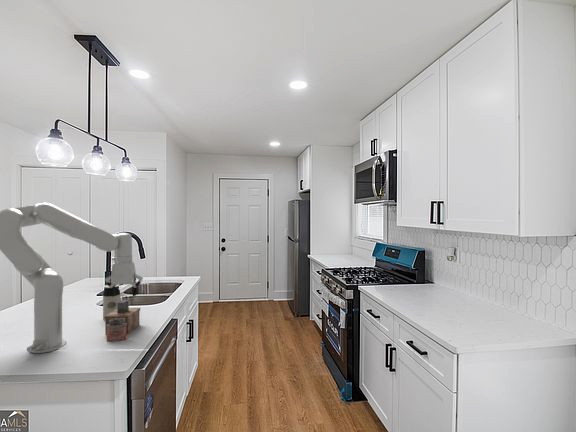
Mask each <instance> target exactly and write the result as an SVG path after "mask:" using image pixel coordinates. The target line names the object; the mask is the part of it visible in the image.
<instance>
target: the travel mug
mask: <svg viewBox="0 0 576 432" xmlns="http://www.w3.org/2000/svg"><path fill="white" fill-rule="evenodd" d="M120 285H121V284H120ZM120 285H115V287H116V295H115V296H113V297H112V294H111V288H110V287H109V286H108V285H107V284H106V285H103V289H104V290H103V292H102V320H103V321H105V319H104V316H106V315H108V314H109V313H111V312H113V311H114V310H116V309H117V303H118V302H120V301H121V290H120Z"/></svg>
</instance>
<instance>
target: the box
mask: <svg viewBox="0 0 576 432" xmlns="http://www.w3.org/2000/svg"><path fill="white" fill-rule="evenodd" d="M109 320H113V319H105V320H104V322H105V326H104V327H105V329H104V330H105V334H104V335H106V336H107V328H106V325H108V324H110V323H109ZM119 323H120V322H119ZM122 323H127V326H126V336H127V335H130V334H131V333H132V332H133V331H134V330H136V328H138V327H139V326H140V311H139V312H137V313H136V314H134V315H133V316H132V317H130V318H129V319H125V322H122ZM112 324H113V323H112Z"/></svg>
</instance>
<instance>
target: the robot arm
mask: <svg viewBox="0 0 576 432" xmlns="http://www.w3.org/2000/svg"><path fill="white" fill-rule="evenodd" d="M40 224H42V225H45V226H47V227H49V228H50V229H54V230H55V231H58V232H60V233H62V234H64V235H65V236H68V237H70V238H73V239H77V240H80V241H83V242H85V243H88V244H90V245H92V246H94V247H95V248H97V249H98V250H100V251H104V252H113V251H114V254H113V255H114V256H113V257H111V261H114V262H113V263H112V265H111V271H110V273H111V274H110V276H107V277H105V278H104V281H105V282H106V285H108V286H109V287H110V288H111V294H112V297H113V296H115V295H116V287H115V285H131V286H132V296H133V297H136V296H137V295H138V293H139V292H138V291H139V289H138V287H139V286H140V285H141V283H142V281H143V279H144V277H143V276H141V275H138V274H137V272H136V266H135V262H134V261H133V237H132V234H131V233H115V234H114V233H113V234H112V233H110V232H108V231H106V230H104V229H101V228H100V227H97V226H95V225H94V224H91V223H89V222H88V221H86V220H83V219H82V218H81V217H78V216H76V215H74V214H72V213H70V212H68V211H66V210H64V209H62V208H60V207H58V206H56V205H55V204H52V203H48V202H41V203H36V204H32V205H25V206H18V207H12V208H5V209H2V210H1V211H0V252H1V253H2V254H3V255H4V256H5V257H6V258H7V259H8V260H9V261H10V263H11V264H12V265H13V267H14V268H15V270H16V271H18V272H19V273H20V274H21V275H22V276H23V278H24V279H25V280H27V282H28V283H29V284H30V285H32V287H33V288H34V295H33V296H34V297H33V303H34V304H33V314H34V315H33V316H34V317H33V325H34V326H33V327H34V329H33V330H34V331H33V333H34V334H33V340H32V344H31V345H30V346H28V347H26V351H27V352H29V353H32V354H44V353H45V354H46V353H50V352H54V351H55V352H56V351H58V350H59V348H62V347H65V345H67V340H65V339H63V295H64V294H63V293H64V281H63V280H64V279H63V278H62V276H61V274H60V273H59V272H57V271H55V270H54V269H53V268H52V267H51V266H50V265H49V263H48V262H47V261H46V260H45V259H44V258H43V256H42V254H41V253H39V252H38V251H37V250H36V249H35V248H34V247H32V245H31V244H30V243H29V242H28V241H27V239H25V237H24V236H23V234H22V233H21V229H22V228H24V227H25V228H26V227H31V226H35V225H40ZM137 280H138V281H137Z"/></svg>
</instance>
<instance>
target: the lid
mask: <svg viewBox="0 0 576 432" xmlns="http://www.w3.org/2000/svg"><path fill="white" fill-rule="evenodd" d="M129 302H130V300H129V299H122V300H120V302H118V303H117V309H116V310H114V311H113V312H111V313H109V314H108V315H106V316H104V319H115V318H117V319H121V318H125V319H129V318H130V317H132V316H133V315H134V314H136V313H137V312H139V313H140V311H141V307H130V306H129V305H130V303H129Z"/></svg>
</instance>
